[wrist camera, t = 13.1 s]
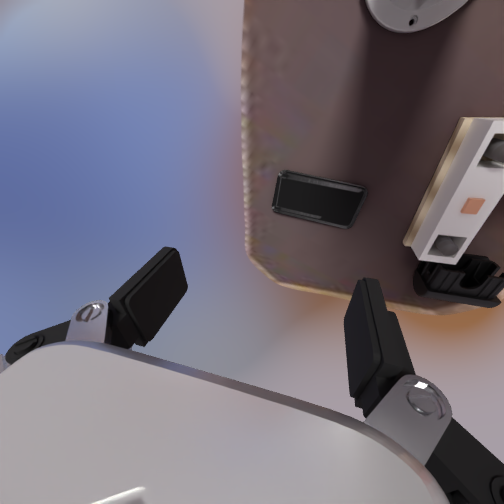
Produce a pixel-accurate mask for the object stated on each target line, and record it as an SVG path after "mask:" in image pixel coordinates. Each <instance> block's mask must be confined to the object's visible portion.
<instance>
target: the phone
mask: <svg viewBox="0 0 504 504" xmlns="http://www.w3.org/2000/svg"><path fill="white" fill-rule="evenodd" d="M367 194H368V192H367V189H366V188H365V187H364V186H360V185H355V184H350V183H346V182H341V181H336V180H332V179H327V178H322V177H317V176H313V175H308V174H303V173H298V172H294V171H289V170H282V171H281V172H280V173H279V175H278V178H277V183H276V188H275V193H274V198H273V203H272V209H273V210H274V211H275V212H277V213H282V214H286V215H290V216H294V217H298V218H302V219H307V220H311V221H315V222H319V223H323V224H327V225H332V226H336V227H340V228H344V229H348V228H351V227H352V226H353V224H354V222H355V220H356V218H357V216H358V214H359V212H360V209H361V207H362V205H363V203H364V201H365V199H366V197H367Z"/></svg>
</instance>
